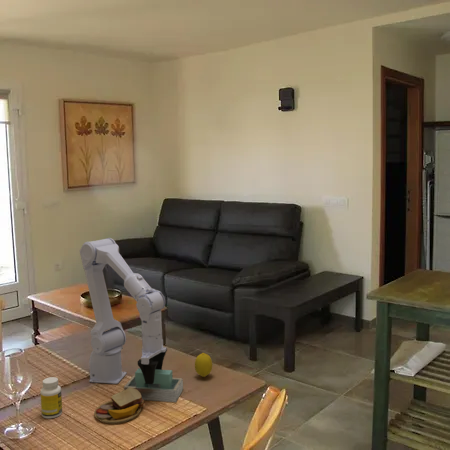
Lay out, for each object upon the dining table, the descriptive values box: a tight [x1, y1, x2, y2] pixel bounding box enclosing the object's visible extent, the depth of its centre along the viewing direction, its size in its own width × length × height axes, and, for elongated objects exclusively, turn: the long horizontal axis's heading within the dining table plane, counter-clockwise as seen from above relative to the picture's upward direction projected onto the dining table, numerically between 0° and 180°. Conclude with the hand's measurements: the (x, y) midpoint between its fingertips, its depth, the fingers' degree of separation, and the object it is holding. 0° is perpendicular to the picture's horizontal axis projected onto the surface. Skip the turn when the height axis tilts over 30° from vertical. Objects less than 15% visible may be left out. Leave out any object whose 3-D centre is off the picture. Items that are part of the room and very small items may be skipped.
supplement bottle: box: [39, 376, 63, 419], centre depth 142 cm, size 5×5×10 cm
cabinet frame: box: [123, 374, 184, 403], centre depth 153 cm, size 15×8×4 cm, turn 80°
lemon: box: [194, 352, 213, 378], centre depth 164 cm, size 6×6×8 cm
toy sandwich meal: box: [93, 388, 145, 425], centre depth 143 cm, size 12×14×5 cm
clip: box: [134, 367, 174, 389], centre depth 153 cm, size 10×3×6 cm, turn 80°
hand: (153, 378), depth 153 cm, fingers open, 7 cm apart
